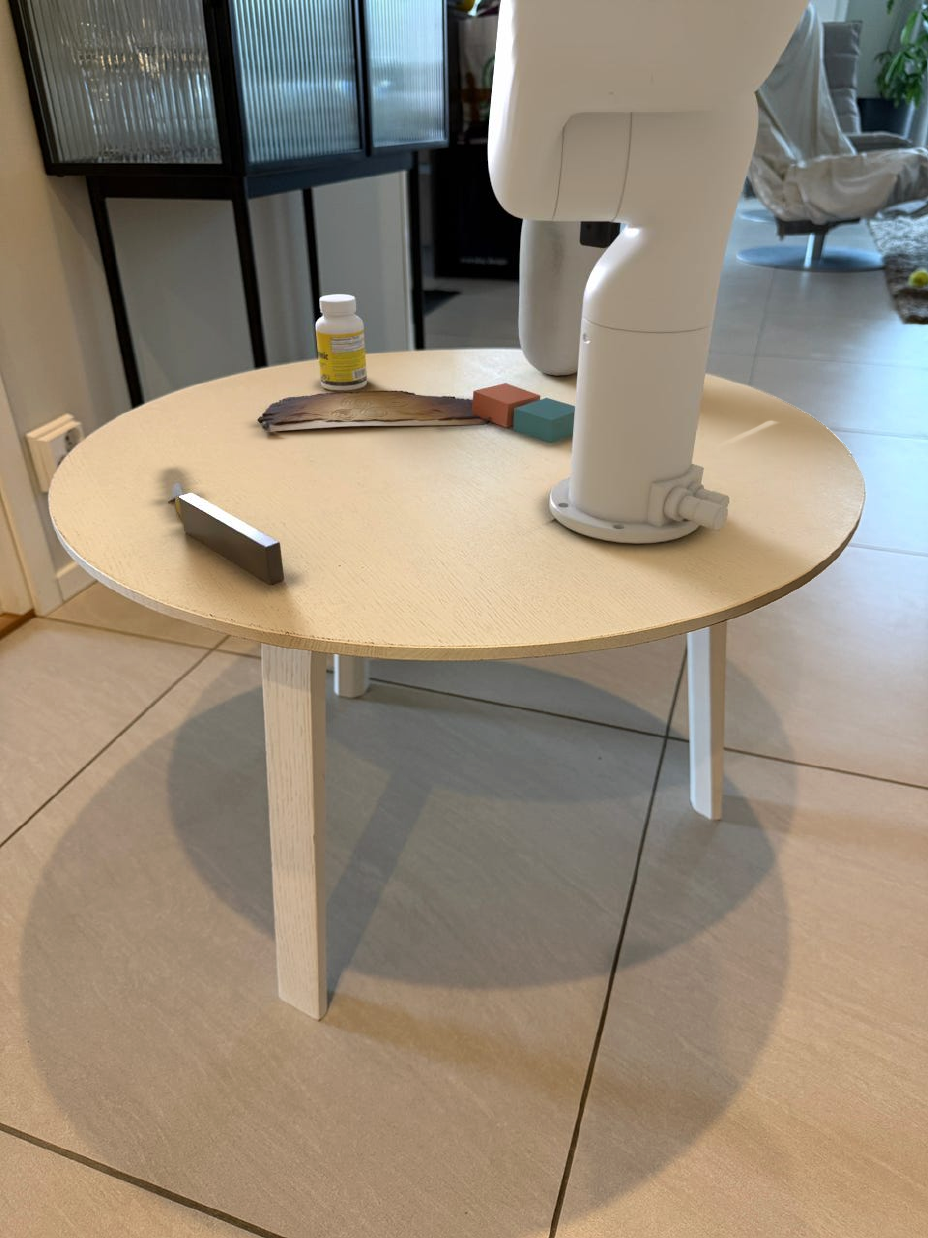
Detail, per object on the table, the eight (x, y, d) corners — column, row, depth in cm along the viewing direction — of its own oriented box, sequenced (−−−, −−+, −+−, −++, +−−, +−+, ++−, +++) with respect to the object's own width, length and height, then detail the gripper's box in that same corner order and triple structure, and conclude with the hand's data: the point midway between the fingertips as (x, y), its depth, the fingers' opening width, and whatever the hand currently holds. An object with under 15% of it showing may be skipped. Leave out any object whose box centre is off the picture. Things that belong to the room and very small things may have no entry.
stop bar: (284, 579, 62) (280, 542, 61) (270, 585, 61) (265, 547, 60) (197, 527, 69) (191, 492, 68) (183, 531, 69) (177, 496, 67)
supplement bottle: (319, 379, 104) (312, 293, 98) (365, 377, 104) (360, 291, 99) (321, 393, 99) (314, 303, 94) (369, 390, 100) (364, 301, 95)
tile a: (582, 432, 89) (584, 408, 87) (550, 444, 86) (552, 419, 84) (545, 420, 92) (546, 397, 90) (513, 432, 89) (513, 407, 87)
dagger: (159, 474, 79) (180, 467, 79) (163, 483, 79) (184, 476, 80) (170, 515, 70) (194, 506, 70) (174, 525, 70) (198, 516, 71)
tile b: (538, 418, 92) (540, 395, 91) (505, 427, 89) (508, 403, 88) (503, 405, 95) (505, 382, 94) (471, 413, 92) (473, 390, 91)
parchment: (256, 433, 87) (256, 424, 87) (262, 400, 95) (261, 392, 95) (501, 427, 90) (501, 419, 90) (486, 396, 98) (486, 388, 98)
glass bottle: (515, 361, 111) (524, 105, 96) (596, 362, 111) (617, 106, 96) (516, 383, 103) (526, 108, 88) (603, 385, 102) (628, 108, 88)
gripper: (597, 3, 67) (579, 260, 76) (705, 13, 76) (677, 241, 85) (524, 8, 71) (516, 249, 81) (634, 17, 80) (615, 233, 90)
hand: (598, 244), depth 83 cm, fingers closed
